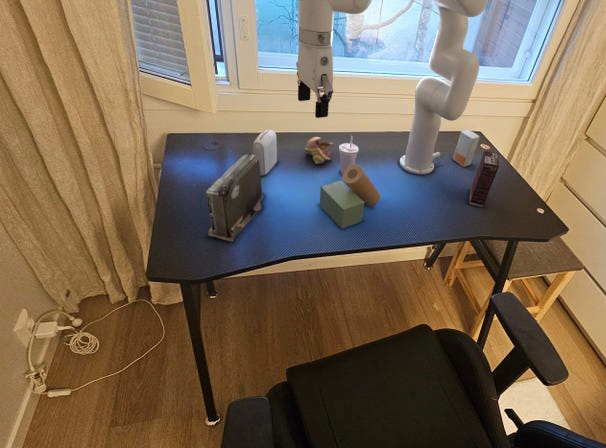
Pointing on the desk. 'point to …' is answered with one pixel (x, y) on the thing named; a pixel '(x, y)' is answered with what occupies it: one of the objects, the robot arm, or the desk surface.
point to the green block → (341, 204)
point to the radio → (235, 198)
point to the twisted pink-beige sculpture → (318, 149)
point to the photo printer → (266, 150)
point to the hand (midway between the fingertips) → (312, 108)
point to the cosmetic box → (466, 147)
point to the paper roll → (361, 185)
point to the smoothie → (347, 155)
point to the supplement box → (484, 178)
